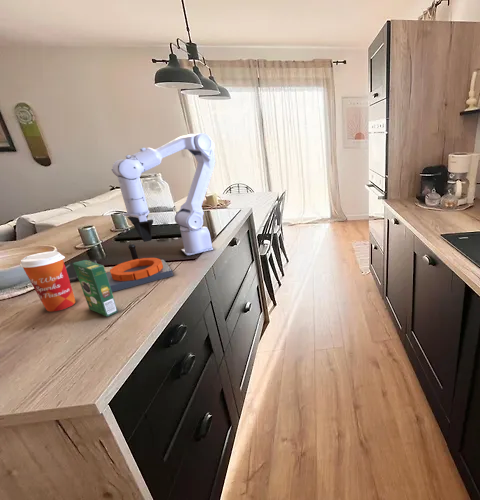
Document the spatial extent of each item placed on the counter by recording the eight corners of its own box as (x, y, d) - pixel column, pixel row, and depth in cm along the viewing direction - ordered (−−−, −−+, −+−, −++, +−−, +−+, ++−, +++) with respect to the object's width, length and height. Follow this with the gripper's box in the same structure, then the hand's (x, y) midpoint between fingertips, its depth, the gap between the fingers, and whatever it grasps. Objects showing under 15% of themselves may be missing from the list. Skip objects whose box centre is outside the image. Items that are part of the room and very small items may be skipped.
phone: (46, 281, 85) (68, 263, 98) (48, 285, 85) (69, 266, 98) (80, 276, 88) (97, 259, 101) (81, 280, 88) (98, 262, 101)
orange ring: (157, 260, 98) (156, 254, 98) (166, 271, 89) (165, 266, 89) (110, 271, 90) (108, 265, 89) (114, 285, 81) (112, 279, 80)
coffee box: (120, 311, 72) (104, 264, 67) (107, 317, 70) (89, 268, 65) (102, 304, 75) (85, 258, 71) (89, 310, 73) (71, 262, 68)
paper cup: (34, 317, 70) (10, 264, 65) (47, 302, 76) (26, 253, 71) (76, 308, 73) (56, 258, 68) (85, 295, 80) (67, 248, 75)
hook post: (142, 260, 103) (137, 241, 100) (144, 263, 100) (139, 244, 98) (129, 263, 100) (123, 243, 98) (130, 267, 98) (124, 246, 95)
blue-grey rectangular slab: (164, 264, 100) (163, 259, 99) (173, 275, 91) (172, 270, 91) (106, 278, 90) (104, 272, 89) (110, 292, 81) (107, 286, 81)
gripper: (116, 196, 95) (127, 235, 100) (122, 203, 85) (134, 246, 90) (141, 194, 99) (151, 231, 104) (150, 200, 89) (160, 241, 94)
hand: (145, 238), depth 97 cm, fingers open, 7 cm apart
